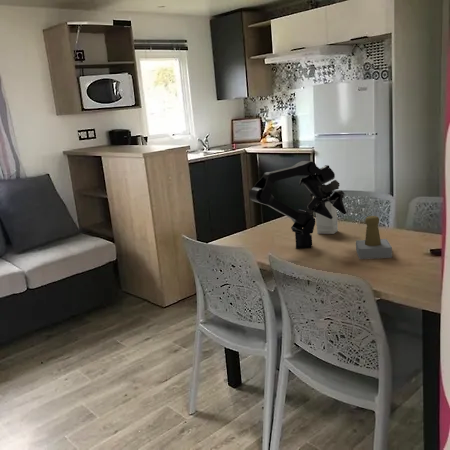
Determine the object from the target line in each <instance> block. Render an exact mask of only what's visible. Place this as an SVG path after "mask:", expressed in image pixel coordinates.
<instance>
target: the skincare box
mask: <svg viewBox="0 0 450 450" xmlns="http://www.w3.org/2000/svg"><path fill="white" fill-rule="evenodd" d="M332 205H333V204H331V203H330V202H327V203H325V206H326V208H327V209H328V211H329V212H330V214H331V215H332V217H333V218H332V219H329V218H327V217H325V216H323V215H321V214H318V213H316V212H314V213H315V225H316V233H317V234H319V235H320V234H322V235H323V234H324V235H334V234H335V233H337V232H338V231H339V225H338V215H337V214H338V213H337V209H336V208H335V207H334V206H332Z"/></svg>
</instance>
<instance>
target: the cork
mask: <svg viewBox="0 0 450 450" xmlns="http://www.w3.org/2000/svg"><path fill="white" fill-rule="evenodd" d="M364 222H365V224H366V229H365V231H366V232H365V238H364V240H365V245H367V246H378V245H380V244H381V241H380V239H381V236H380V230H379V223H380V217H378V216H377V215H368V216H366V218H365V220H364Z"/></svg>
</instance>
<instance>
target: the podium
mask: <svg viewBox="0 0 450 450" xmlns="http://www.w3.org/2000/svg"><path fill="white" fill-rule="evenodd" d="M380 241H381V244H380V245H378V246H367V245H365V239H362V240H361V239H359V240H355V252H356V254H357V256H358V259H359V260H369V259H370V260H371V259H374V260H376V259H392V258H393V247H392V245H391V244H390V241H389V240H388V239H387V238H380Z"/></svg>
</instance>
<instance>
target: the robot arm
mask: <svg viewBox="0 0 450 450" xmlns="http://www.w3.org/2000/svg"><path fill="white" fill-rule="evenodd" d="M335 175H336V174H335V172H334V170H333V169H332V168H331V167H330V165H328V164H327V165H323V166H322V167H318V166H317V164H316V162H315V161H312V160H301V161H299V162H297V163H296V164H294V165H292V166H290V167H285V168H280V169H276V170H272V171H266V172H264V173H263V174H262V176H261V178H260V179H259V180H258V181H257V182H256V183H255V184H254V186H253V187H252V188H251V189H249V193H248V195H249V196H248V197H249V200H250V201H252V202H255V203H259V204H262V205H265V206H268V208H271V209H273V210H274V211H276V212H278V213H280V214H282V215H284V216H286V217H287V218H289V219H291V221H292V222H293V224H292V226H291V231H292V232H294V234H295V235H294V236H295V238H294V239H295V249H311V248H312V246H313V237H312V235H313V233H314V230H315V229H314V228H315V227H316V226H315V225H316V217H314V215H313V214H312V213H315V212H316V213H318V214H321V215H323V216H325V217H327V218H329V219H332V218H333V217H332V215H331V214H330V212H329V211H328V209H327V208H326V206H325V203H327V202H330V203H331V204H333V205H332V206H334V207H335V208H336V210H337V211H339V212H340V213H341V214H344V215H346V214H347V210H346V208H345V206H344V202H343V199H344V197H345V195H346V194H345V193H344V191H343V190H339V189H340V183H339V181H338V180H337V179H335V178H336V176H335ZM297 176H299V177H300V176H301V177H300V179H299V185H298V186H299V187H302V186H305V187H306V189H307V190H308V191H309V192H310V193H311V194H310V195H309V196H310V197H313V198H312V199H311V201H310V202H309V203H308V204H307V210H308V211H309V212H312V213H311V214H310V213H309V212H308V211H306V210H303V209H298V210H296V209H294V208H292V207H291V206H288V205H287V204H285V203H284V202H282V201H280V200H278V199H276V198H275V197H274V196H273V194H272V191H273V187H274V184H275V182H278V181H282V180H287V179H289V178H293V177H297ZM327 183H328V184H327ZM335 190H336V191H335ZM316 213H315V214H316Z"/></svg>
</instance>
